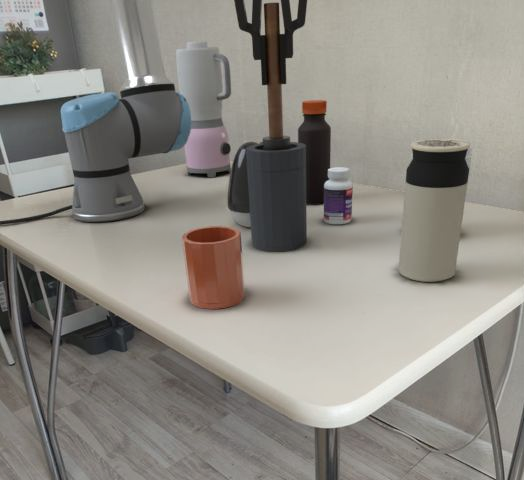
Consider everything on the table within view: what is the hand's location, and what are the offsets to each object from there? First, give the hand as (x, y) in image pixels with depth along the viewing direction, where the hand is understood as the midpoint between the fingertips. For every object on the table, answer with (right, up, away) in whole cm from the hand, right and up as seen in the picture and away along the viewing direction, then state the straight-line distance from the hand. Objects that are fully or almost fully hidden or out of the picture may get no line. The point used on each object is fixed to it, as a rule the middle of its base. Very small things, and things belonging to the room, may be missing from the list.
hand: (274, 83), depth 81 cm
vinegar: (+10, -8, +36) cm, 38 cm away
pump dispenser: (-3, -16, +23) cm, 28 cm away
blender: (-15, +8, +68) cm, 70 cm away
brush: (+1, -12, +7) cm, 14 cm away
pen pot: (-8, -33, -7) cm, 35 cm away
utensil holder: (+1, -22, +12) cm, 25 cm away
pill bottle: (+13, -16, +22) cm, 30 cm away
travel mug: (+22, -29, -3) cm, 37 cm away
